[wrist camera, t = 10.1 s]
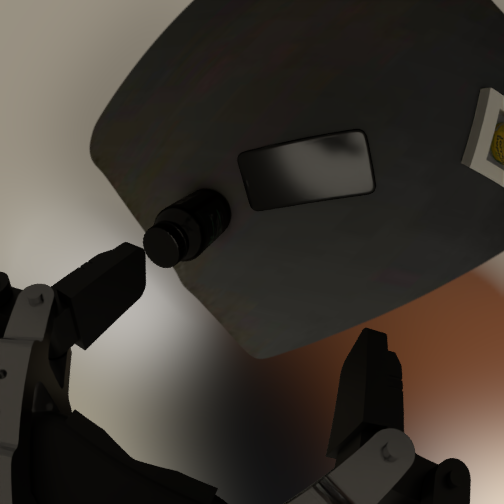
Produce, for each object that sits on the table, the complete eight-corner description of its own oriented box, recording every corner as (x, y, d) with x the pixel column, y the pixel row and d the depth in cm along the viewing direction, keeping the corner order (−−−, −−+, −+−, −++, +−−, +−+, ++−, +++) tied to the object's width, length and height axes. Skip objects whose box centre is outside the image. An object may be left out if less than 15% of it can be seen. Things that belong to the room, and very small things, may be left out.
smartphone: (364, 127, 30) (236, 153, 36) (365, 127, 29) (234, 154, 35) (376, 192, 32) (253, 211, 39) (377, 194, 32) (251, 213, 38)
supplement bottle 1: (184, 224, 43) (134, 261, 32) (192, 181, 39) (137, 209, 29) (225, 241, 42) (183, 286, 31) (237, 197, 38) (192, 232, 28)
